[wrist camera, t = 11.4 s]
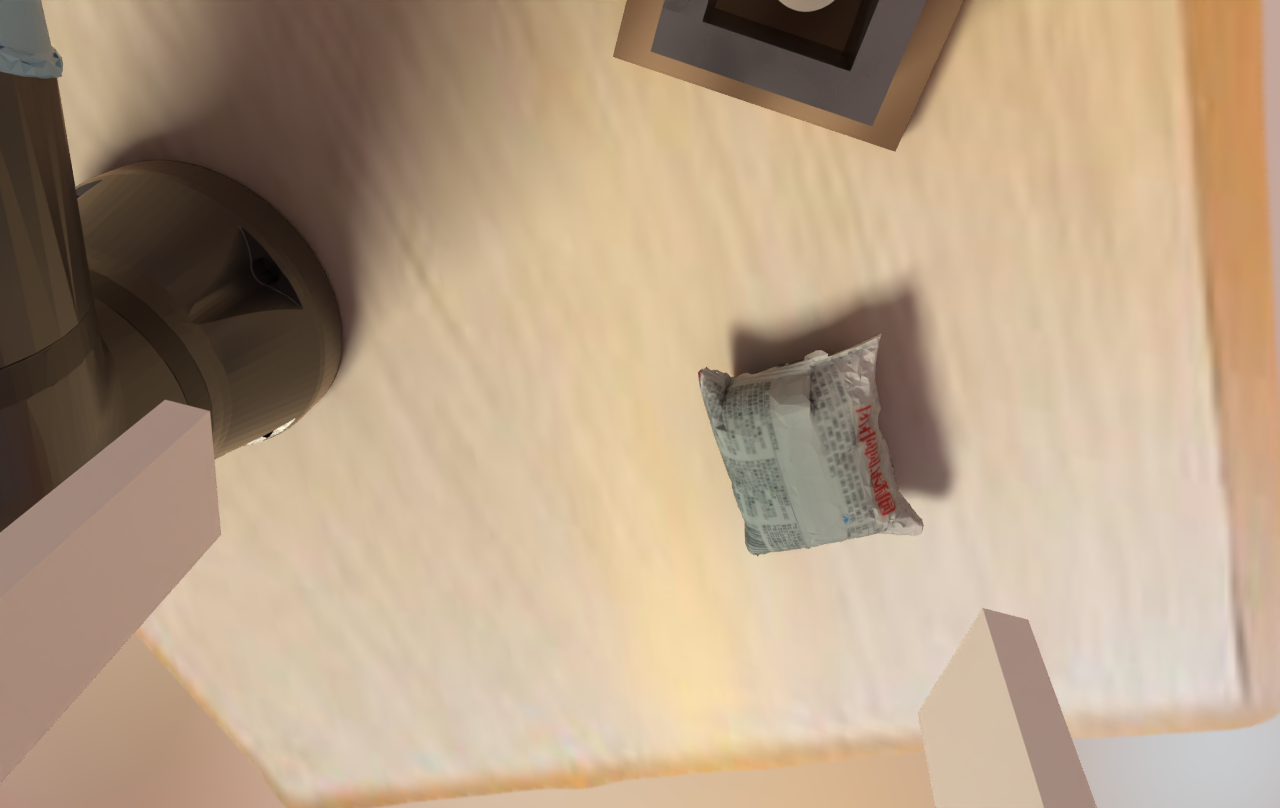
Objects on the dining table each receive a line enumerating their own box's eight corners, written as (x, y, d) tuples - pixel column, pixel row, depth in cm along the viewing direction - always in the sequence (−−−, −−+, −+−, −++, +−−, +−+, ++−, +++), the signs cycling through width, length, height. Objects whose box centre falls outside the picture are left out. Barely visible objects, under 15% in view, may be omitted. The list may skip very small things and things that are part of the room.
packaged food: (877, 310, 38) (885, 359, 34) (919, 510, 43) (930, 574, 39) (698, 349, 41) (685, 399, 36) (758, 533, 46) (753, 595, 42)
